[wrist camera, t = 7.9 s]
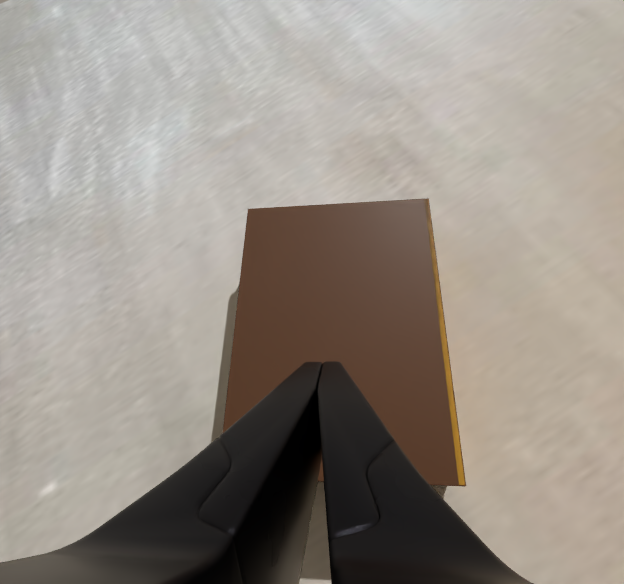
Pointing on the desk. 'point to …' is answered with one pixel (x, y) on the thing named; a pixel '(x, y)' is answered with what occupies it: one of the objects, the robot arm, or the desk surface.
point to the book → (351, 318)
